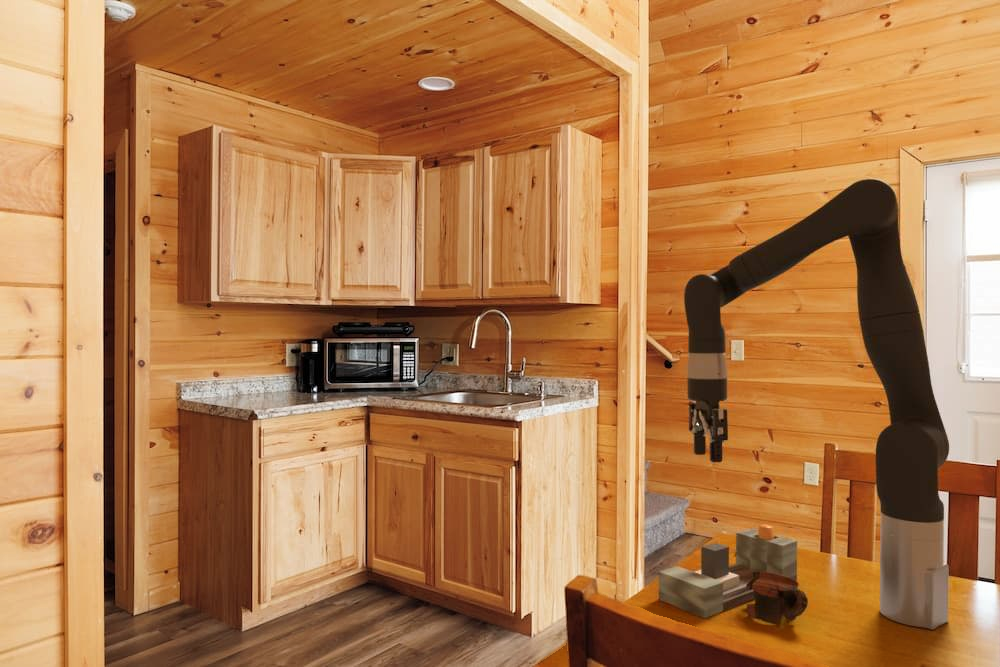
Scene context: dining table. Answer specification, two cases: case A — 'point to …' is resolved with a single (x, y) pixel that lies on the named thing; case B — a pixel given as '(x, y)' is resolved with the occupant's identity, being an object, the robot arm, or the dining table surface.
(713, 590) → the rail base
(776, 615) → the pottery mug
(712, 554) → the carriage
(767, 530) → the plunger
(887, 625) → the dining table surface
